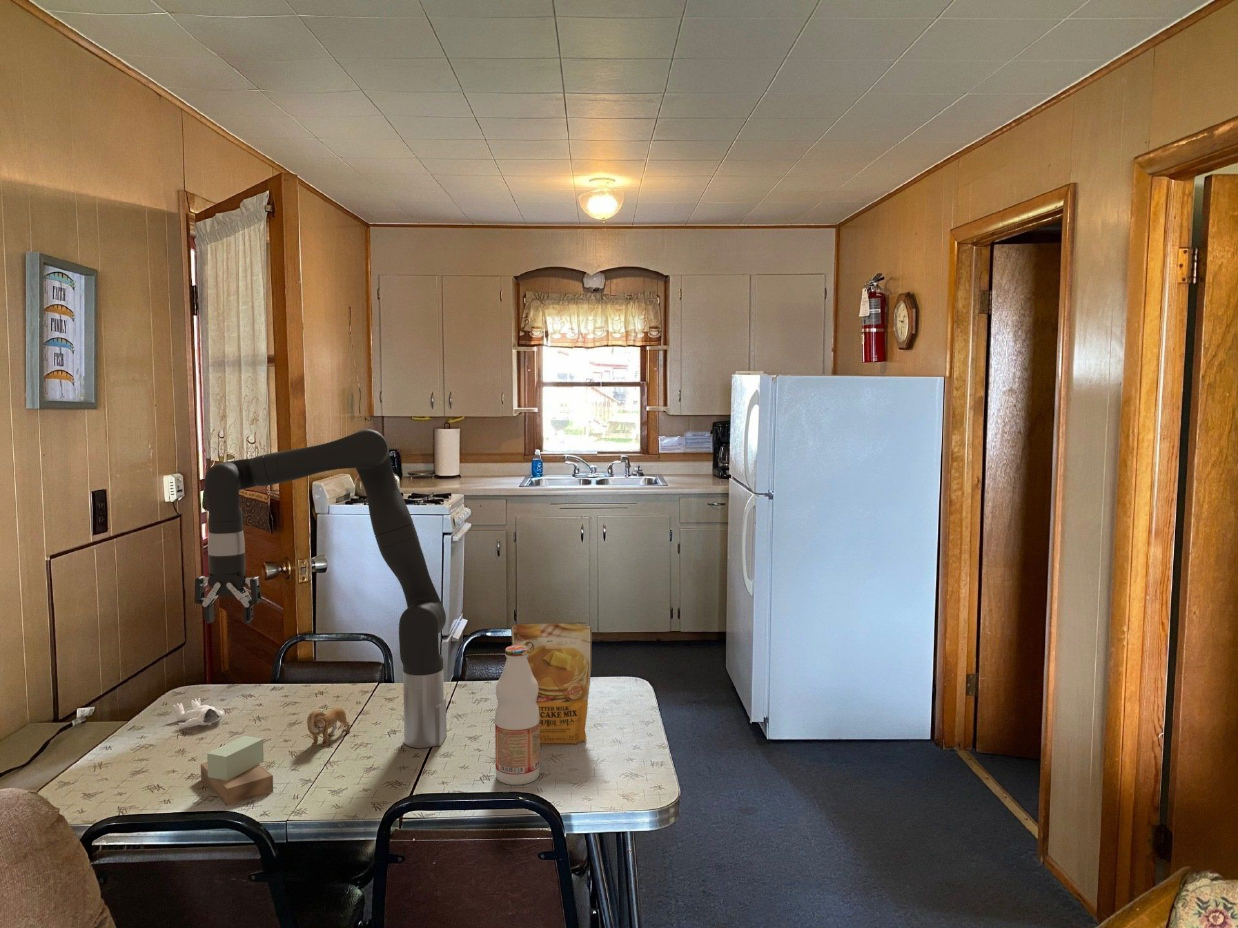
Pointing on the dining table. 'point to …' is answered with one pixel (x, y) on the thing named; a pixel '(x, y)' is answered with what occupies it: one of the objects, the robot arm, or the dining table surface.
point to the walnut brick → (240, 784)
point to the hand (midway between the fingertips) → (228, 622)
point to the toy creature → (197, 714)
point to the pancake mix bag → (559, 677)
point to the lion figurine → (326, 723)
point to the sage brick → (235, 758)
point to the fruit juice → (517, 720)
